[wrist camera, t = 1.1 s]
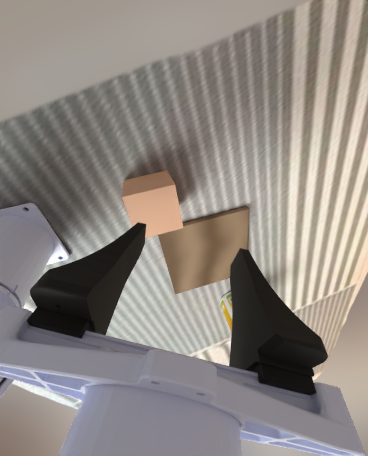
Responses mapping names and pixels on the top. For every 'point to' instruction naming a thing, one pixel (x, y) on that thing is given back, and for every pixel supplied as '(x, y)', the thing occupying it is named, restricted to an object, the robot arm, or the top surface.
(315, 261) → the top surface
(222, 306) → the supplement bottle
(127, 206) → the terracotta block
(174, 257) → the walnut board
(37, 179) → the top surface
